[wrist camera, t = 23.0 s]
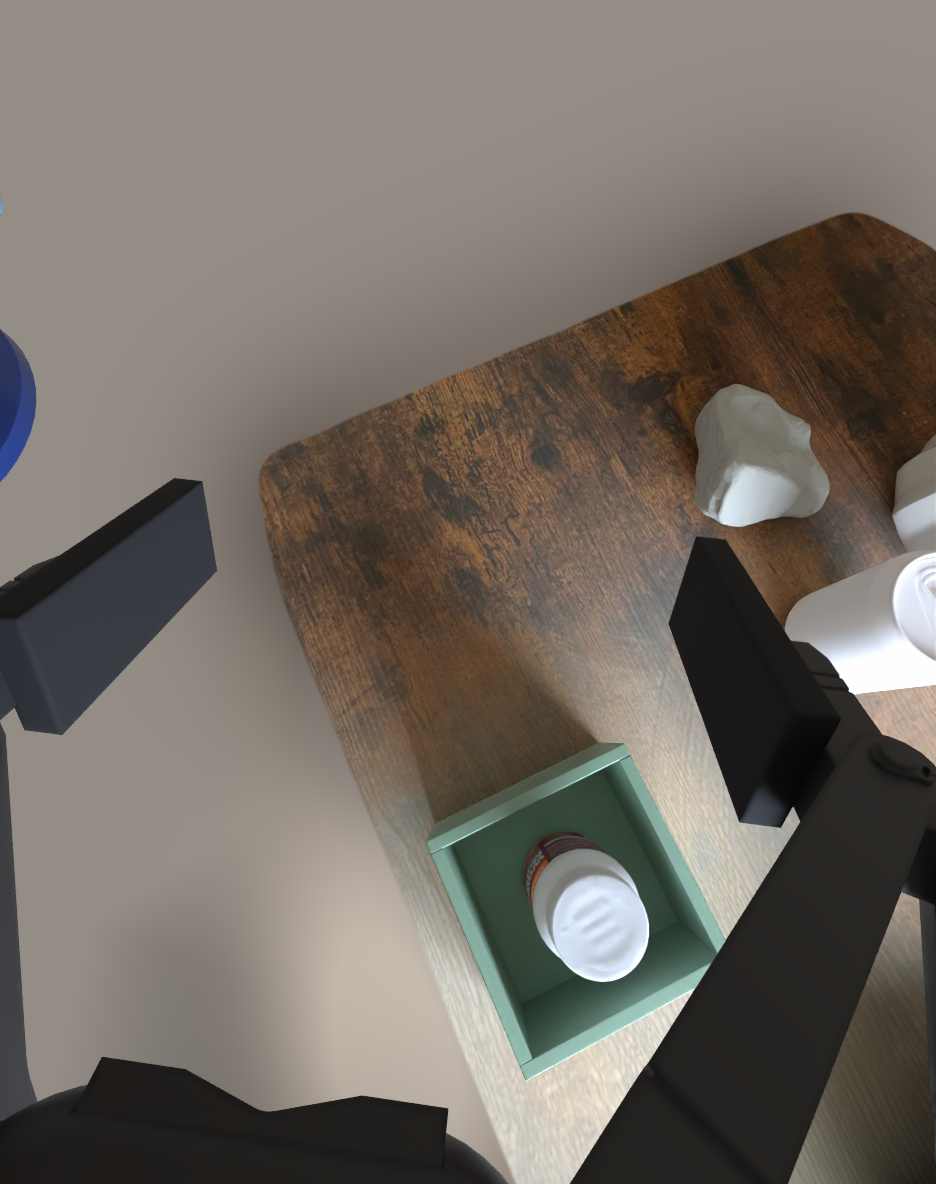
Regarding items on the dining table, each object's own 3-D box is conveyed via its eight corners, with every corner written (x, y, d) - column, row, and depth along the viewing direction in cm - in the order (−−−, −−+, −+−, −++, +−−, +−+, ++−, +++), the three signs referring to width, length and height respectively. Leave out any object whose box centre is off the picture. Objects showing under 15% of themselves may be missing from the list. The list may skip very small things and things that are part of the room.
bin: (434, 823, 43) (425, 841, 35) (599, 742, 44) (624, 742, 37) (516, 1017, 40) (526, 1081, 32) (691, 924, 41) (739, 965, 34)
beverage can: (805, 708, 44) (923, 697, 33) (763, 607, 46) (859, 564, 35) (903, 677, 45) (1054, 656, 33) (857, 579, 47) (984, 527, 35)
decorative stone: (838, 522, 46) (821, 496, 38) (717, 545, 52) (680, 527, 44) (814, 393, 48) (793, 343, 40) (699, 429, 53) (661, 391, 45)
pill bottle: (516, 835, 42) (530, 869, 31) (601, 823, 42) (646, 854, 31) (529, 930, 40) (549, 1001, 29) (617, 918, 41) (670, 984, 30)
